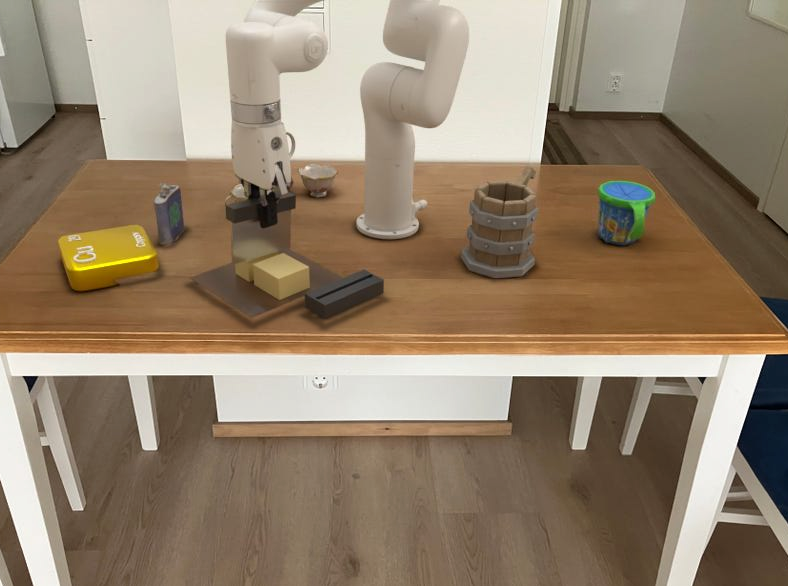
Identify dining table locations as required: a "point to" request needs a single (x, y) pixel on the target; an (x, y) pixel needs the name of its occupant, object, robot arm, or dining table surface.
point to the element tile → (106, 256)
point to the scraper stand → (344, 293)
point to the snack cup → (623, 211)
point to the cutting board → (251, 296)
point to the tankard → (502, 228)
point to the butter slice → (250, 266)
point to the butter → (281, 276)
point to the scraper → (259, 229)
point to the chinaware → (311, 176)
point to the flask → (169, 214)
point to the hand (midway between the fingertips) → (263, 222)
